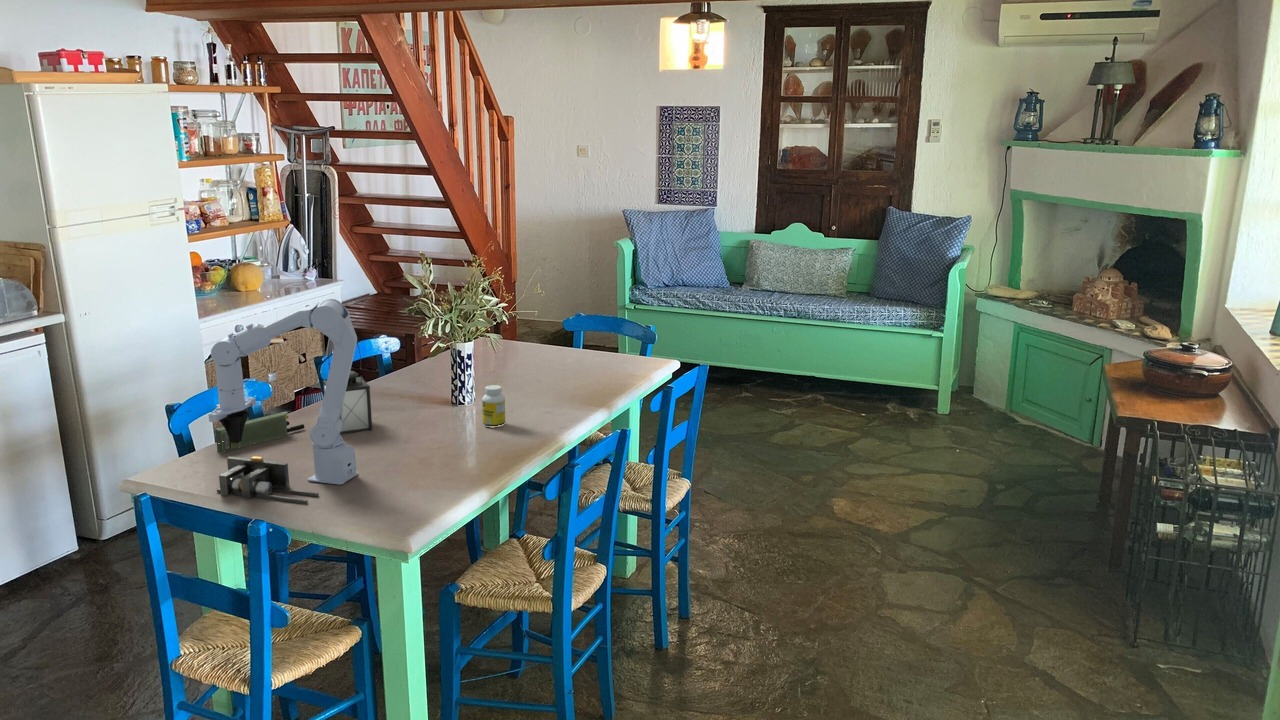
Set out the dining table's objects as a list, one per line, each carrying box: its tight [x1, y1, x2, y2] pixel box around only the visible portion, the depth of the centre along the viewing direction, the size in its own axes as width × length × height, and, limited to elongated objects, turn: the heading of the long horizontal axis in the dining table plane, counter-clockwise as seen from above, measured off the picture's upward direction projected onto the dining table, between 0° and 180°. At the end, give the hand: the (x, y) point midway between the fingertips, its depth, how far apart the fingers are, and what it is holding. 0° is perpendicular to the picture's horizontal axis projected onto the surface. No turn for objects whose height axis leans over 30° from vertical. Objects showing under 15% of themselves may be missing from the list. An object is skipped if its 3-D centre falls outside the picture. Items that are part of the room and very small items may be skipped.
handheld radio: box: [215, 411, 305, 453], centre depth 258 cm, size 7×3×25 cm
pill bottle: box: [481, 384, 506, 427], centre depth 273 cm, size 6×6×12 cm
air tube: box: [231, 478, 273, 495], centre depth 223 cm, size 12×3×3 cm
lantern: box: [322, 339, 373, 435], centre depth 268 cm, size 11×11×28 cm
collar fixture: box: [216, 455, 320, 505], centre depth 222 cm, size 26×9×7 cm, turn 75°
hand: (236, 442), depth 228 cm, fingers closed
